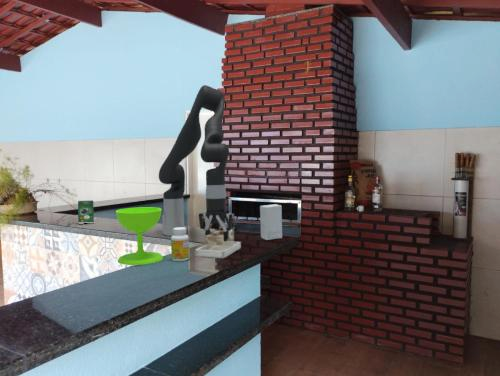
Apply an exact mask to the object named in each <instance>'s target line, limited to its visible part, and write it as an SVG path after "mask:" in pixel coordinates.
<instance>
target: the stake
mask: <svg viewBox="0 0 500 376" xmlns="http://www.w3.org/2000/svg"><path fill="white" fill-rule="evenodd" d="M235 230H236V229H235V227H233V229H231V230H229V231H233V239H231V240H229V241H234V242H235Z"/></svg>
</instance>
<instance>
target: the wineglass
mask: <svg viewBox="0 0 500 376" xmlns="http://www.w3.org/2000/svg"><path fill="white" fill-rule="evenodd" d="M162 210H163V209H162V208H161V207H155V206H154V207H153V206H152V207H150V206H149V207H148V206H147V207H145V206H143V207H141V206H140V207H128V208H119V209H116V211H115V215H116V218H117V221H118V223H119V224H120V225H121V226H122V227H123V228H125V229H126V230H128V231H130V232H133V233H136V236H137V237H136V239H137V242H136V243H137V250H136V251H135V252H131V253H126V254H123V255H122V256H120V257H119V258H118V259H117V263H118V264H121V265H125V266H142V265H150V264H155V263H158V262H161V261H162V260H163V259H164V256H163V255H162V254H161V253H159V252H156V251H146V250H144V240H143V239H144V238H143V237H144V235H143V233H144V232H148V231H150V230H152V229H153V228H154V227H155V226H156V225H157V224H158V222H159V221H160V219H161V217H162Z"/></svg>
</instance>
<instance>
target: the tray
mask: <svg viewBox="0 0 500 376" xmlns="http://www.w3.org/2000/svg"><path fill="white" fill-rule="evenodd" d="M240 249H242V241H235V240H234V241H227V242H226V243H224V244H222V245H205V244H204V245H201V246H200V247H198V248H195V249H194V257H199V258H209V259H210V258H211V259H225V258H227V257H229V256H231V255H232V254H233V253H236V251H239V250H240Z"/></svg>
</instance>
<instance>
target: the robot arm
mask: <svg viewBox="0 0 500 376" xmlns="http://www.w3.org/2000/svg"><path fill="white" fill-rule="evenodd" d="M225 102H226V98H225V94H224V92H222V90H219V89H216V88H214V87H212V86H209V85H207V84H206V85H205V84H204V85H202V86H200V88H199V90H198V92H197V94H196V97H195V99H194V101H193V104H192V106H191V109H190V111H189V114H188V116H187V117H186V120H185V122H184V124H183V126H182V128H181V130H180V132H179V134H178V136H177V138H176V140H175V142H174V144H173V146H172V148H171V150H170V152H169V154H168V156H166V158H165V160H164V162H163V163H162V165H161V166H160V169H159V172H158V179H159V180H158V181H160V182H161V184H164V185H170V187H169V189H167V190H166V191H164V192H163V197H162V198H163V214H161V217H162V235H163V234H164V235H163V236H168V237H169V236H171V237H172V236H173V235H174V233H173V228H177V227H185V216H184V215H185V211H184V209H185V208H184V205H185V204H184V194H185V192H186V191H185V187H186V181H185V180H186V173H185V169H184V167H183V165H182V164H180V163H181V162H182V161H183V160H184V159H185V158H187V157H188V156H189V155H191V154H192V153H193V152H194V151H195V149H196V148H197V146H198V144H199V143H200V140H201V138H202V128H201V122H200V121H201V120H200V114H201V110H202V109H204V110H208V111H211V112H213V113H214V114H213V115H212V116H210V117H209V118H208V119H207V120H206V122H205V124H204V140H203V143H202V145H201V148H200V158H201V160H202V161H203V162H205V163H208V164H209V163H219V165H218V166H217V167H215V168H214V167H213V168H210V169H207V170H206V172H205V184H206V186H205V206H206V209H205V210H206V211H205V212H200V213H198V221H199V229H200V230H204V232H205V233H204V234H205V235H204V236H206V235H209V234H211V232H212V231H211V227H212V225H214V224H218V225H220V226H221V228H222V231H224V232H223V236H224V241H227V240H228V239H229V230H231V229H233V227H234V226H235V225H234V224H235V213H228V212H227V190H226V177H225V175H226V169H227V168H226V167H227V163H228V158H229V156H230V149H229V146H228V145H227V144H226V143H223V140H224V134H223V120H224V111H225ZM206 218H207V222H206ZM226 218H227V219H228V222H227V220H226Z"/></svg>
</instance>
